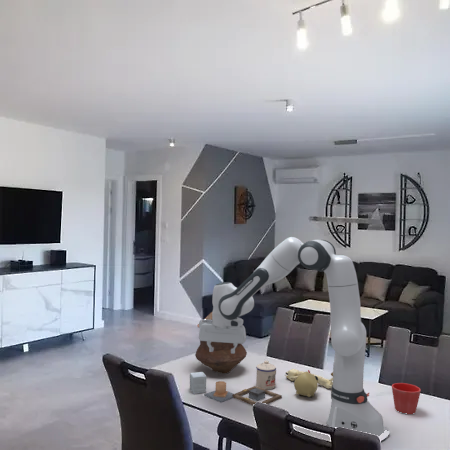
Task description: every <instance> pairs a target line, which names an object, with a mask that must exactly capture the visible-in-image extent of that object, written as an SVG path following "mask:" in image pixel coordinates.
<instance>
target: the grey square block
mask: <svg viewBox="0 0 450 450" xmlns="http://www.w3.org/2000/svg"><path fill="white" fill-rule="evenodd" d="M248 398H249V399H250V400H253V401H255V402H260V401H261V400H264V399H265V398H266V394H265V391H264V390H261V389H258V388H255V389H252V390H249V393H248Z"/></svg>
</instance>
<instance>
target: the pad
mask: <svg viewBox="0 0 450 450" xmlns="http://www.w3.org/2000/svg"><path fill="white" fill-rule="evenodd" d="M214 393H215V390H213V391H210V392H208V393H207V392H206V393H205V394H203V396H204V397H206V398H209V399H211V400H213V401H216V402H218V403H224V402H225V401H228V400H232V399H234V398H233V396H232V395H233V394H234V393H233V392H231V391H228V393H227V395H226V397H216V396H214Z"/></svg>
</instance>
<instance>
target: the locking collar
mask: <svg viewBox="0 0 450 450" xmlns="http://www.w3.org/2000/svg"><path fill="white" fill-rule="evenodd" d="M255 388H258V389H261V390H264V391H265V395H267V396H270V398H268V399H265V400H263V401H261V402H262V403H266V404H267V405H269V404H272V403H274V402H276V401H279V400H281V399H282V398H283V397H282V396H283V395H281V394H278V393H276V392H273V391H270V390H269V389H262V388H259V387H257V386H256V385H253V386H251V387H248V388H243V389H242V390H241V391H238V392H236V393H233V395H232V396H233V398H232V399H235V400H238V401H240V402H244V403H246V404H248V405H251V406H253V404H255V403H256V402H257V401H256V400H254V399H251V398H249V397H244V396H245V395H247V394H249V390H252V389H255Z"/></svg>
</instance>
